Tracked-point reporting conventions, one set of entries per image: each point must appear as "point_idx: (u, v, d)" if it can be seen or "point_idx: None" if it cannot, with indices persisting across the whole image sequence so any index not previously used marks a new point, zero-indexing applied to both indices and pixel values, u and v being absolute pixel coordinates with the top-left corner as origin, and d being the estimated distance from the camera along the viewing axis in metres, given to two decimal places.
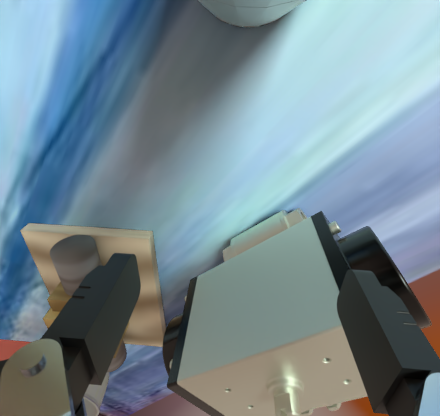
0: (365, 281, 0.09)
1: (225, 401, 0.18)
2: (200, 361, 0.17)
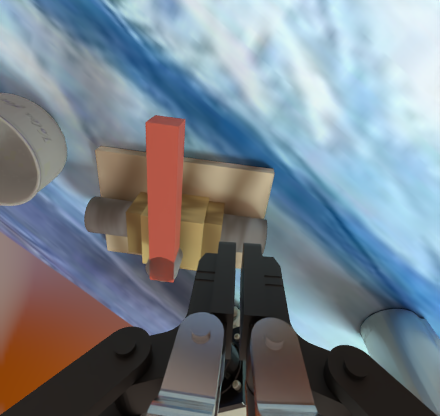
0: (250, 251, 0.10)
1: None
2: None
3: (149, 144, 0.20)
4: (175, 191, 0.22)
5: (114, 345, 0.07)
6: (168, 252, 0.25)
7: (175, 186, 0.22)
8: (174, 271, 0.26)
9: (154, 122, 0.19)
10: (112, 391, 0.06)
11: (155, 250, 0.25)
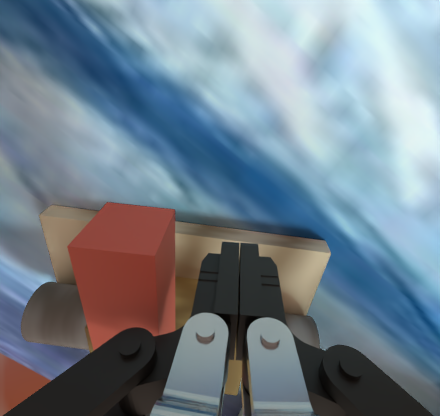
0: (247, 251, 0.10)
1: None
2: None
3: (86, 289, 0.08)
4: None
5: (118, 345, 0.07)
6: None
7: None
8: None
9: (92, 242, 0.07)
10: (116, 393, 0.06)
11: None
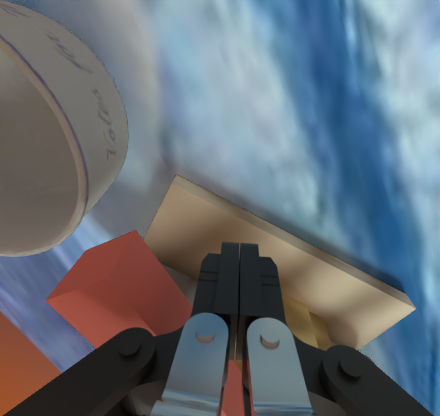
0: (247, 251, 0.10)
1: None
2: None
3: (85, 330, 0.09)
4: None
5: (119, 345, 0.07)
6: None
7: None
8: None
9: (64, 289, 0.08)
10: (116, 392, 0.06)
11: None
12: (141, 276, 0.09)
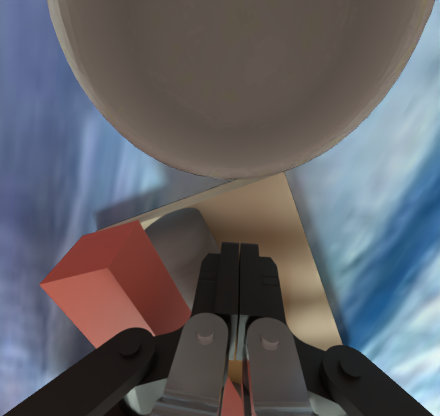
0: (247, 251, 0.10)
1: None
2: None
3: (77, 318, 0.09)
4: None
5: (118, 345, 0.07)
6: None
7: None
8: None
9: (60, 274, 0.08)
10: (116, 393, 0.06)
11: None
12: (140, 268, 0.09)
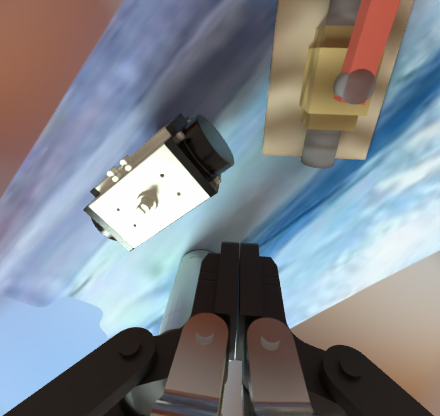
0: (247, 251, 0.10)
1: (179, 180, 0.27)
2: None
3: None
4: None
5: (118, 345, 0.07)
6: (373, 61, 0.25)
7: None
8: (371, 88, 0.26)
9: None
10: (116, 393, 0.06)
11: (360, 59, 0.25)
12: None
